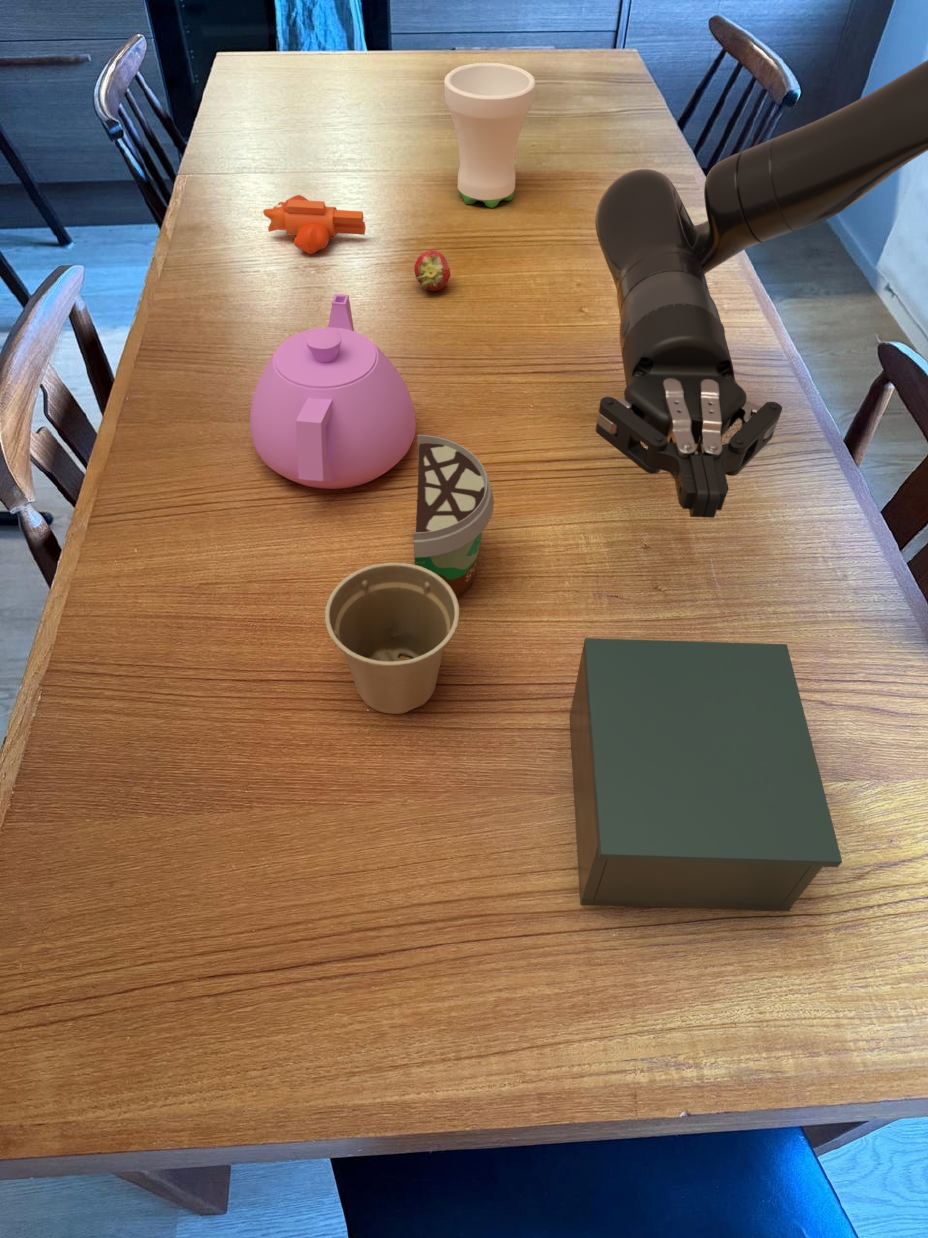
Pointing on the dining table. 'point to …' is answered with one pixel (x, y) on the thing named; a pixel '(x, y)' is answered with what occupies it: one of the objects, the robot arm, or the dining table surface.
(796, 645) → the dining table surface
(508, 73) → the cup
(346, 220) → the orange long irregular piece
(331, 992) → the dining table surface
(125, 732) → the dining table surface
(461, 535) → the food container
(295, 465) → the teapot
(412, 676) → the flower pot
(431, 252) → the fruit
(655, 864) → the caddy
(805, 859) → the lid
